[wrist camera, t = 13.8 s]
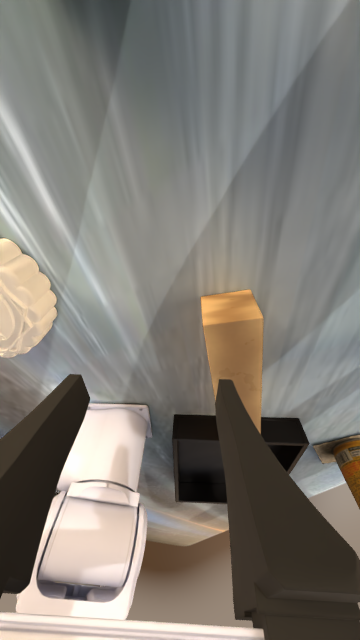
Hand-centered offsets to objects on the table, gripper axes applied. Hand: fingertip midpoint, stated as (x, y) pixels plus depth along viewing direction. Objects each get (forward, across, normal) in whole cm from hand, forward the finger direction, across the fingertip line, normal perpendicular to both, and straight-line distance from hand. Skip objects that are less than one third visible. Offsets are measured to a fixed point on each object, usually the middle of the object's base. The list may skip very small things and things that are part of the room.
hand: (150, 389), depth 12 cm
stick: (+10, -7, +8) cm, 15 cm away
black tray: (+10, -9, +30) cm, 33 cm away
